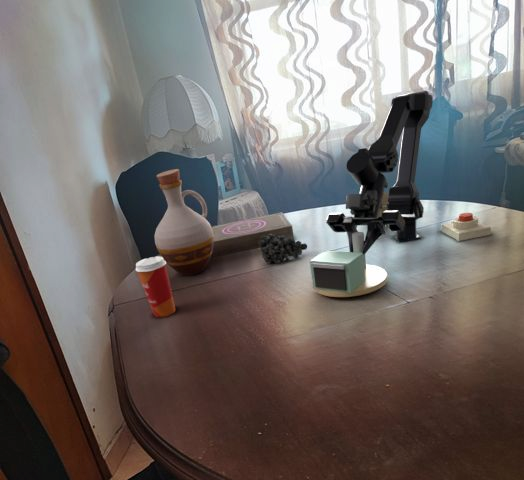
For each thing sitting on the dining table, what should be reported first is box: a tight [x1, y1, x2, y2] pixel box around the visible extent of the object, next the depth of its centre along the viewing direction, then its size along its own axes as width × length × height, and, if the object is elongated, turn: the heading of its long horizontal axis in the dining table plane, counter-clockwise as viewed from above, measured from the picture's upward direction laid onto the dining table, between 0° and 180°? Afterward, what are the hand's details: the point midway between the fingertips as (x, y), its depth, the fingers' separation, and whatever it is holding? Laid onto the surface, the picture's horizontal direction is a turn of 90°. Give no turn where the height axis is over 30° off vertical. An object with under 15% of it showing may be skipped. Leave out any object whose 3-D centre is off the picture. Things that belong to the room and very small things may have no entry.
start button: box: [458, 212, 474, 222], centre depth 131 cm, size 4×4×2 cm
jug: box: [154, 168, 213, 276], centre depth 140 cm, size 20×18×30 cm
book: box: [210, 212, 295, 258], centre depth 165 cm, size 30×22×5 cm
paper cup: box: [135, 255, 176, 318], centre depth 116 cm, size 8×8×14 cm
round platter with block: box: [309, 231, 388, 298], centre depth 111 cm, size 18×19×10 cm
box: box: [441, 215, 492, 242], centre depth 132 cm, size 11×9×4 cm
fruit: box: [256, 234, 308, 265], centre depth 138 cm, size 9×8×15 cm
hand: (357, 253), depth 114 cm, fingers closed on round platter with block, 3 cm apart
